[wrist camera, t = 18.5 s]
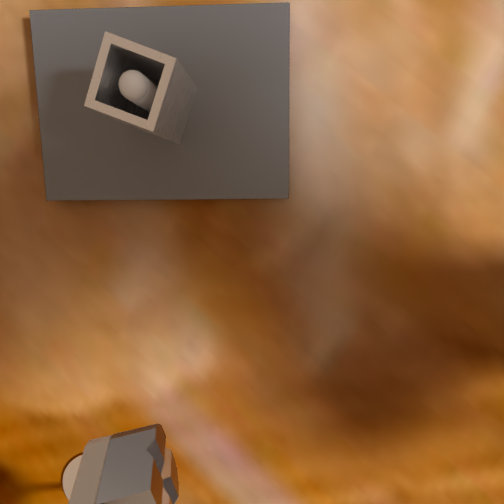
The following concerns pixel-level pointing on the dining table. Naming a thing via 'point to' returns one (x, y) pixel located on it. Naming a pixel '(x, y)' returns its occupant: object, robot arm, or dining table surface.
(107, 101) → the steel sleeve
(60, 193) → the shaft plate
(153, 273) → the dining table surface
